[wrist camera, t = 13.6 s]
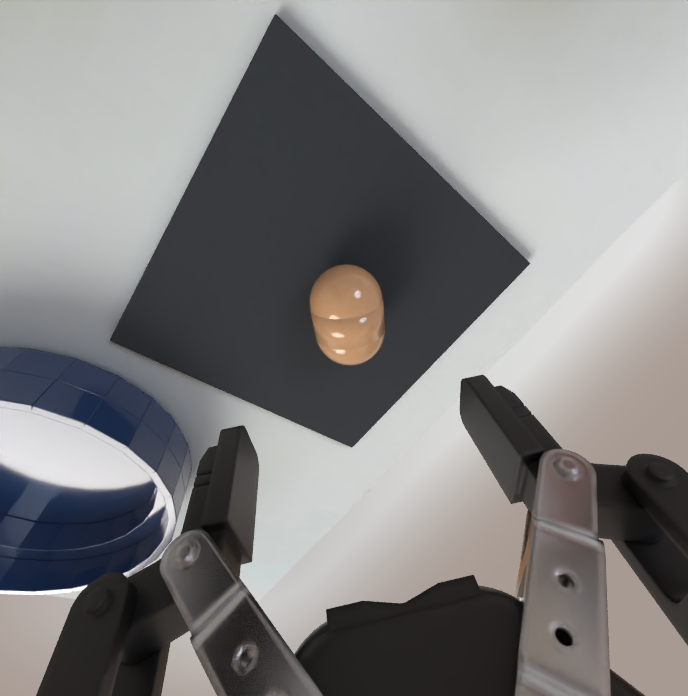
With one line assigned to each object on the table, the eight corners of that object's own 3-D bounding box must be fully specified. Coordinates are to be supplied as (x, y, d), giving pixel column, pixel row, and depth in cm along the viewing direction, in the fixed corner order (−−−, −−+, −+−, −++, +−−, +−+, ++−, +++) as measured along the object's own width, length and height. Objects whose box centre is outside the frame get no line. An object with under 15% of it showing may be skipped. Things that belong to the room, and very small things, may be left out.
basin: (-210, 378, 21) (-334, 438, 17) (124, 318, 22) (85, 361, 18) (4, 553, 32) (-39, 616, 28) (223, 507, 33) (214, 561, 29)
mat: (112, 336, 23) (109, 340, 22) (275, 16, 16) (275, 13, 16) (351, 443, 31) (352, 448, 31) (526, 261, 24) (530, 263, 24)
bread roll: (288, 271, 20) (335, 288, 17) (346, 249, 22) (396, 261, 19) (308, 361, 24) (350, 389, 20) (356, 335, 26) (401, 356, 23)
